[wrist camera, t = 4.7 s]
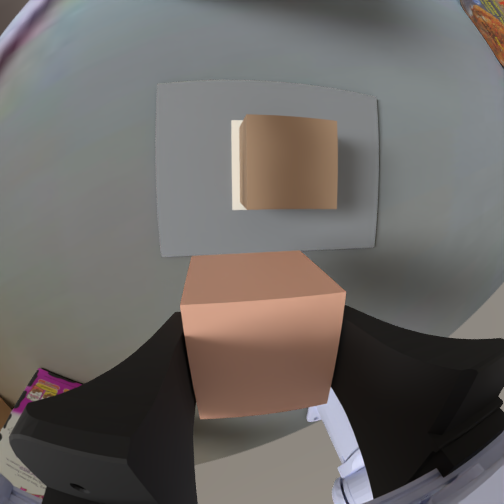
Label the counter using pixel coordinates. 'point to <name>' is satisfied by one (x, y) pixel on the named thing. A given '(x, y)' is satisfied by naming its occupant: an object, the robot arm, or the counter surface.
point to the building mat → (228, 169)
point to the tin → (488, 22)
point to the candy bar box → (3, 456)
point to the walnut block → (288, 162)
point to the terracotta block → (260, 332)
